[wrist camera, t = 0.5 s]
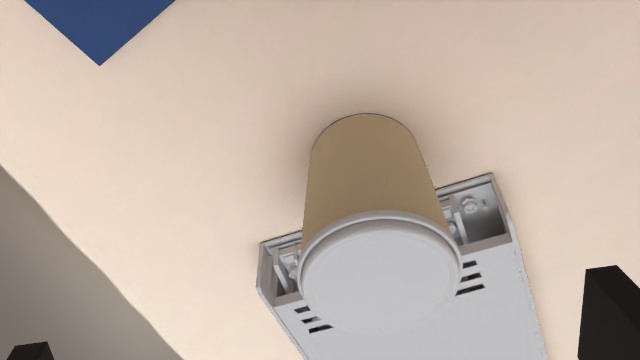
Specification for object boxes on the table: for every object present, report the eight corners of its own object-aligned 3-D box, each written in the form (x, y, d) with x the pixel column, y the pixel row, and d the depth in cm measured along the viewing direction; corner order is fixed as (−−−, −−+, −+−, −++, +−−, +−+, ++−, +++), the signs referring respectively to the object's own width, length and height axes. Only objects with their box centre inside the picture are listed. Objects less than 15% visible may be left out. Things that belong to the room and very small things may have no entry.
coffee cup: (286, 195, 44) (280, 326, 34) (317, 88, 38) (320, 210, 29) (403, 217, 45) (428, 349, 36) (450, 118, 40) (494, 243, 30)
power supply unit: (493, 171, 43) (512, 217, 39) (554, 399, 62) (570, 445, 58) (259, 242, 47) (254, 290, 43) (384, 435, 66) (389, 480, 62)
